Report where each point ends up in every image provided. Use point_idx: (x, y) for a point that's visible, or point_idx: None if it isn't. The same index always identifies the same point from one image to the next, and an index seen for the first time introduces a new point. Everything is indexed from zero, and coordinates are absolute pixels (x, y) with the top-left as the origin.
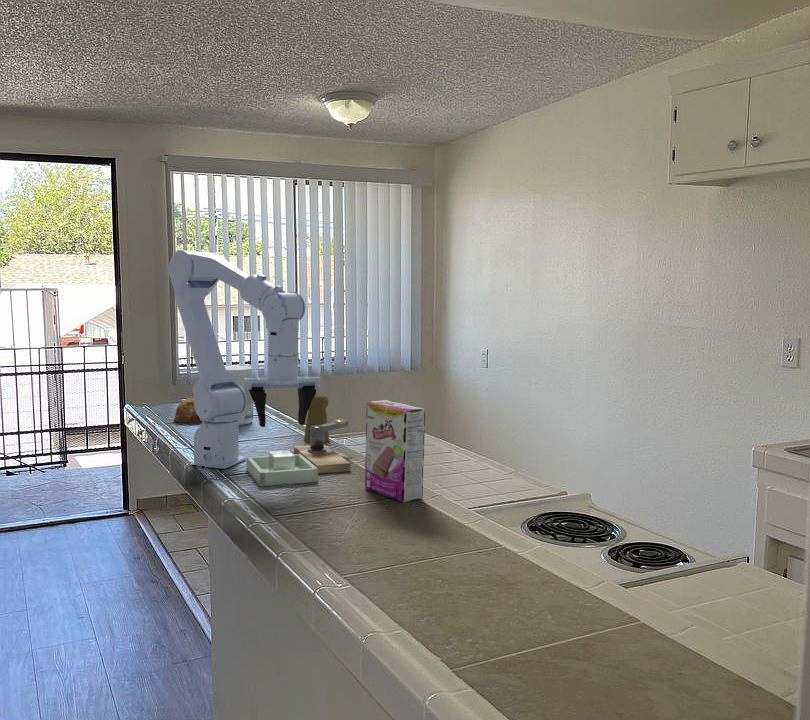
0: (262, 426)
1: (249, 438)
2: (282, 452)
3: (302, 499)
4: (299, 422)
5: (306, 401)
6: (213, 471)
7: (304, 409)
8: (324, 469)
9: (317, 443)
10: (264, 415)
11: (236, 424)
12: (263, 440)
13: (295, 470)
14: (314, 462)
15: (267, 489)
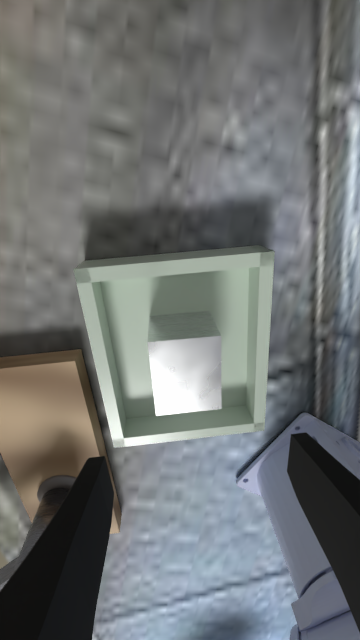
0: (305, 434)
1: (195, 604)
2: (181, 392)
3: (161, 32)
4: (109, 486)
5: (14, 629)
6: (329, 401)
7: (60, 545)
8: (55, 355)
9: (55, 505)
10: (334, 481)
11: (311, 561)
12: (171, 593)
13: (155, 263)
14: (79, 392)
15: (247, 203)
